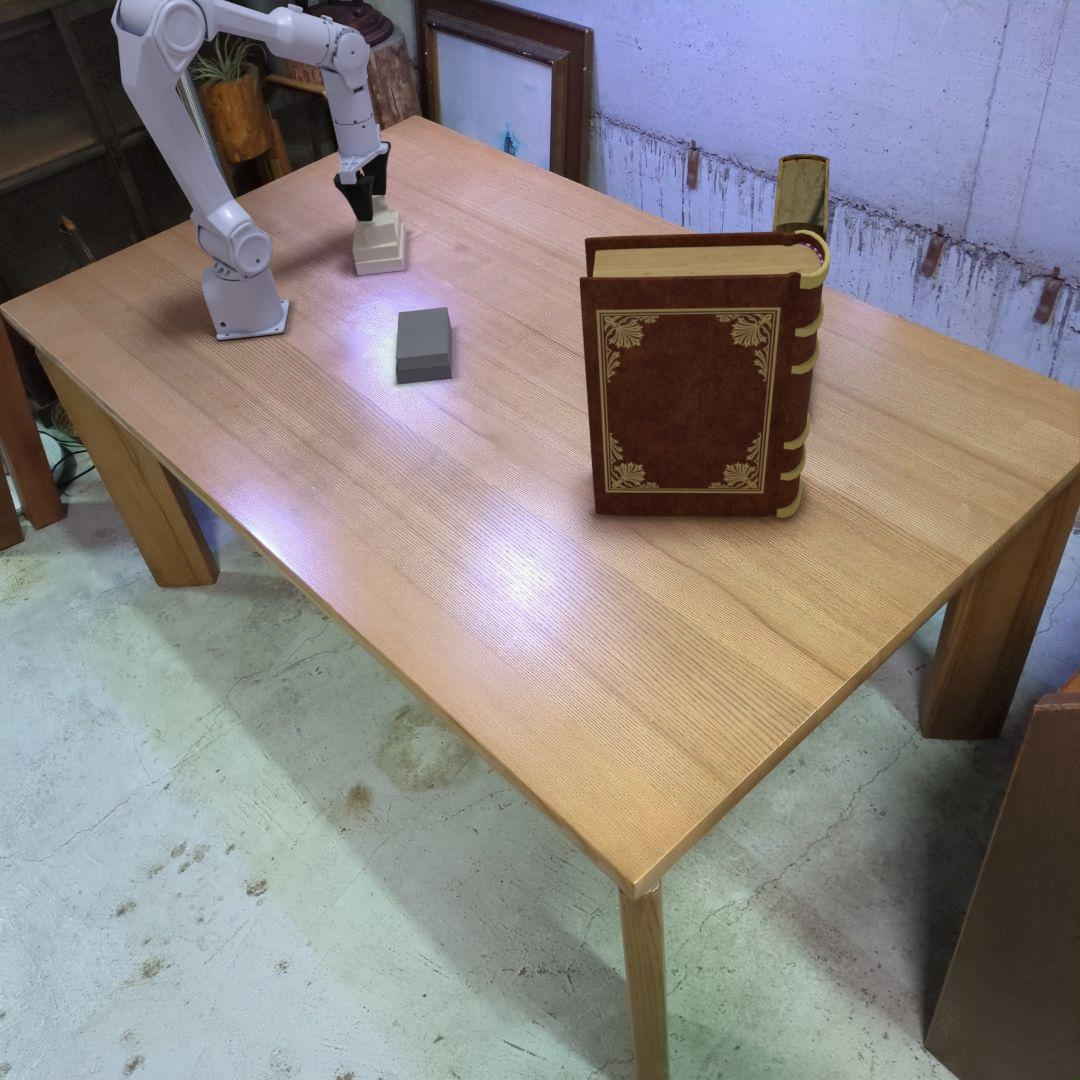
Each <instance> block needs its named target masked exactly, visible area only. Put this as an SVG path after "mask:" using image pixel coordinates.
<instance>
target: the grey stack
mask: <svg viewBox="0 0 1080 1080" xmlns="http://www.w3.org/2000/svg"><path fill="white" fill-rule="evenodd" d="M397 315H398V316H397V333H396V352H395V362H396V363H395V374H396V379H397V383H398V385H399V384H409V383H418V382H429V381H437V380H447V379H453V361H452V360H453V359H452V358H453V354H452V353H453V342H452V341H453V340H452V339H453V338H452V337H453V334H452V331H453V330H452V325H451V319H450V314H449V309H448V306H444V307H433V308H426V309H417V310H416V309H415V310H407V311H398V314H397Z"/></svg>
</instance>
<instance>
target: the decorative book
mask: <svg viewBox="0 0 1080 1080" xmlns="http://www.w3.org/2000/svg"><path fill="white" fill-rule="evenodd" d="M584 250H585V266H586V276H580V277H579V297H580V312H581V314H580V315H581V327H582V342H583V357H584V358H583V359H584V370H585V371H584V372H585V385H586V386H585V387H586V399H587V400H586V402H587V414H588V431H589V443H590V459H591V460H590V461H591V473H592V488H593V501H594V512H595V514H596V515H602V516H615V517H616V516H620V517H724V518H725V517H727V518H728V517H730V518H731V517H733V518H734V517H737V518H739V517H740V518H741V517H743V518H744V517H745V518H749V517H750V518H751V517H753V518H754V517H756V518H757V517H758V518H763V517H764V518H766V517H768V516H769V515H771V516H774V517H775V518H781V519H786V518H788V517H791V516H793V515H794V514H795V512H796V511H797V510H799V507H800V504H801V501H802V492H803V491H802V490H803V483H802V480H801V473H802V472H803V470H804V468H805V465H806V461H807V447H806V441H807V439H808V437H809V434H810V429H811V428H810V427H811V416H810V412H809V405H810V397H811V390H812V389H811V387H812V381H813V380H812V379H813V374H814V373H813V372H814V367H815V366H816V364H817V361H818V359H819V354H820V339H819V336H818V331H819V329H820V327H821V325H822V323H823V321H824V313H825V312H824V311H825V303H824V300H823V298H822V297H823V287H824V282H825V281H826V279H827V278H828V275H829V274H830V273H829V272H830V264H831V251H830V248H829V245H828V244H827V242H826V243H825V241H824V240H823V239H822V238H821V237H820V236H819V235H817V234H816V233H814V232H812V231H807V230H799V231H794V232H792V233H785V232H783V231H779V232H772V231H749V232H748V231H746V232H742V231H741V232H710V233H708V232H707V233H674V234H639V235H638V234H637V235H634V234H633V235H611V236H610V235H608V236H593V237H586V238H584Z"/></svg>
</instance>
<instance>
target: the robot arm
mask: <svg viewBox="0 0 1080 1080" xmlns="http://www.w3.org/2000/svg"><path fill="white" fill-rule="evenodd" d="M303 11H304V8H303V7H301V6H298V5H295V4H292V3H288V4H287V7H285V6H279V7H276V8H274V9H272V10H271V11H270V13H268V14H267V13H263V12H261V11H257V10H255V9H251V8H248V7H245V6H242V5H240V4H236V3H233V2H230V1H227V0H116V4H115V6H114V10H113V13H112V16H111V19H110V22H111V25H112V27H113V30H114V33H115V35H116V37H117V42H118V44H117V45H118V56H119V65H120V78H121V85H122V87H123V89H124V91H125V93H126V95H127V97H128V99H129V100H130V102H131V104H132V105H133V107H134V109H135V111H136V113H137V114H138V116H139V118H140V119H141V121H142V123H143V125H144V126H145V128H146V130H147V131H148V133H149V135H150V137H151V139H152V140H153V142H154V144H155V145H156V147H157V148H158V150H159V153H160V154H161V156H162V158H163V159H164V161H165V162H166V164H167V166H168V168H169V170H170V172H171V173H172V175H173V176H174V178H175V180H176V182H177V184H178V185H179V187H180V189H181V190H182V192H183V194H184V196H185V197H186V199H187V201H188V203H189V204H190V206H191V208H192V211H191V213H190V215H189V219H191V221H192V223H193V226H194V228H195V229H194V230H195V239H196V243H197V246H198V247H199V248H200V249H201V251H202V252H203V253H205V254H206V255H209V256H210V257H211V260H212V264H213V266H210V267H206V268H203V270H202V273H201V288H202V289H201V290H202V294H203V297H204V302H205V304H206V306H207V309H208V312H209V315H210V318H211V320H212V323H213V326H214V329H215V331H216V339H217V340H218V341H224V340H233V339H243V338H251V337H252V338H253V337H261V336H268V335H278V334H283V333H284V332H285V331H286V325H287V320H288V314H289V309H290V305H291V304H290V303H291V302H290V300H289V299H282V300H281V299H280V296H279V292H278V289H277V286H276V282H275V278H274V276H273V272H272V269H271V266H270V262H271V260H272V257H273V251H274V248H273V242H272V240H271V238H270V236H269V235H268V234H267V232H265V231H264V230H262V229H261V228H259V227H258V226H257V225H256V223H255V222H254V220H253V218H252V217H251V216H250V215H249V213H248V212H247V211H246V210H245V209H244V208H243V207H242V206H241V205H240V204H239V203H238V202H237V201H236V200H235V198H234V197H233V194H232V192H231V190H230V189H229V187H228V185H227V183H226V182H225V180H224V178H223V175H222V173H221V172H220V170H219V168H218V167H217V164H216V163H215V161H214V159H213V158H212V155H211V153H210V152H209V150H208V148H207V146H206V144H205V142H204V140H203V139H202V136H201V135H200V133H199V131H198V130H197V128H196V125H195V124H194V122H193V120H192V118H191V116H190V114H189V113H188V111H187V109H186V107H185V105H184V102H183V101H182V100H181V97H180V96H179V94H178V92H177V90H176V86H177V83H178V81H179V79H180V78H181V77H182V75H183V74H184V73H185V71H186V69H187V68H188V67H189V65H190V63H191V61H193V58H195V56H196V55H197V53H198V51H199V49H200V48H201V47H202V45H203V43H204V41H206V42H212V41H213V40H214V39H215V37H216V36H217V34H218V32H221V33H226V34H230V35H235V36H239V37H243V38H249V39H253V40H258V41H261V42H264V43H265V45H266V47H267V49H268V51H269V52H270V53H271V55H273V56H275V57H279V58H282V59H286V60H290V61H295V62H299V63H303V64H306V65H310V66H314V67H320V73H321V77H322V80H323V85H324V89H325V93H326V98H327V102H328V107H329V110H330V115H331V120H332V124H333V129H334V132H335V138H336V142H337V146H338V148H337V153H338V159H339V170H338V173H336V174H335V176H334V177H333V185H334V187H335V188H336V189H337V190H338V191H339V192H340V193H341V195H343V197H344V198H345V200H346V201H347V202H348V204H349V206H350V208H351V210H352V212H353V214H354V216H355V219H356V218H357V219H358V221H372V220H373V203H372V197H373V196H382V195H384V196H386V194H387V183H388V182H387V180H388V179H387V176H388V175H387V174H388V161H389V156H390V153H391V149H392V143H391V142H390V141H388V140H387V141H386V140H381V138H382V132H381V127H380V124H379V123H376V119H375V114H374V109H373V104H372V100H371V94H370V90H369V89H370V88H369V85H368V79H369V74H368V64H369V60H370V56H371V45H370V44H368V43H366V39H365V38H364V36H363V34H361V32H360V31H359V30H357V29H356V28H354V27H351V26H347V25H344V24H340V23H338V22H335V21H333V18H332V16H331V17H330V16H328V15H324V14H322V15H320V17H318V16H314V15H311V14H308V13H305V12H303ZM361 170H362V172H361Z"/></svg>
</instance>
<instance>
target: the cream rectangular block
mask: <svg viewBox="0 0 1080 1080" xmlns="http://www.w3.org/2000/svg"><path fill="white" fill-rule="evenodd" d="M372 203H373V220H372V221H359V222H360V225H361V228H362V232H363V235H364V238H365V242H366V245H367V247H371V246H376V245H381V244H385V243H390V242H395V241H397V237H396V232H395V227H394V222H393V219H392V217H391V214H390V211H391V210H390V208H389V205H388V202H387V200H386V197H385V195H376V196H372Z"/></svg>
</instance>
